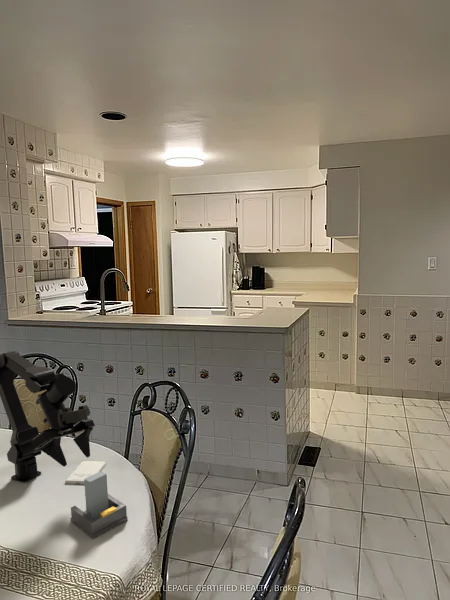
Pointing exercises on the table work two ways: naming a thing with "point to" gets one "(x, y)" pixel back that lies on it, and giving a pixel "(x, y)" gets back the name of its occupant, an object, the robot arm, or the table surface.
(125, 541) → the table surface
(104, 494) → the block
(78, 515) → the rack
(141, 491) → the table surface
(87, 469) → the external hard drive
